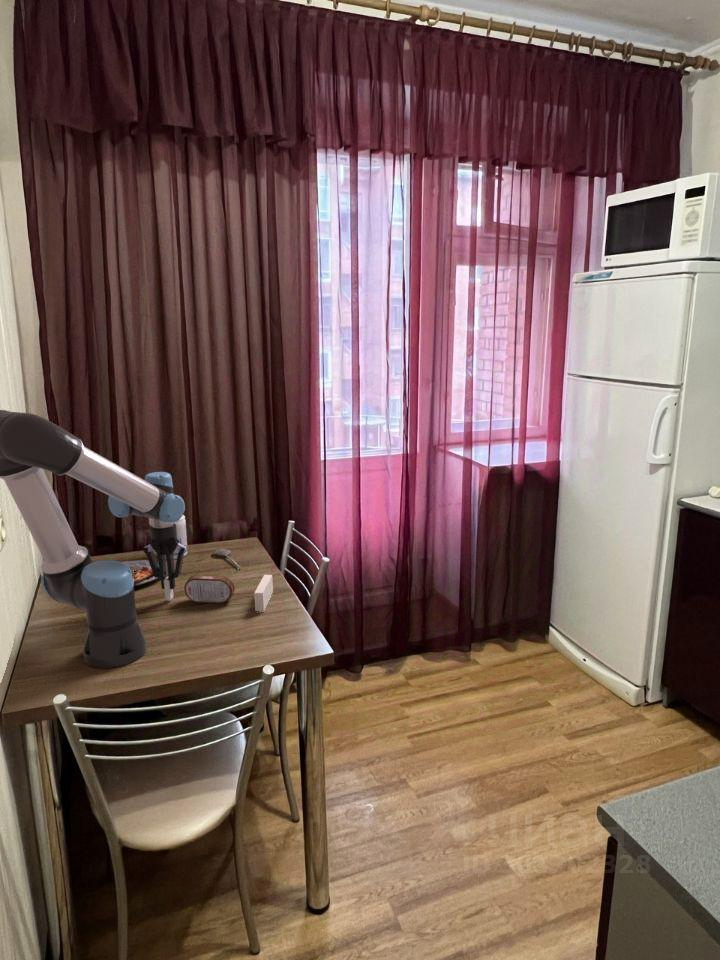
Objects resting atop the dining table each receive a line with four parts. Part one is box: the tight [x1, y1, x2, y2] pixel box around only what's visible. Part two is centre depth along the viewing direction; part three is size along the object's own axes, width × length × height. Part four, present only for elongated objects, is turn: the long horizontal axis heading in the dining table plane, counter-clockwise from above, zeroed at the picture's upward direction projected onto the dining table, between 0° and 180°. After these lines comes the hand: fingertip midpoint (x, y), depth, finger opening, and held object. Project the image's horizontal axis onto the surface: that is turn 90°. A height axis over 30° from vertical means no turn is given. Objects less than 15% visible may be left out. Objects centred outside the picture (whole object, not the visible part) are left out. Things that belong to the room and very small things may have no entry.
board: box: [253, 574, 274, 613], centre depth 190 cm, size 14×2×6 cm, turn 177°
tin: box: [183, 574, 235, 604], centre depth 191 cm, size 15×3×8 cm, turn 84°
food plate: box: [121, 559, 168, 587], centre depth 211 cm, size 25×23×4 cm
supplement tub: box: [165, 514, 188, 560], centre depth 231 cm, size 10×10×15 cm
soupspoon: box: [212, 548, 243, 571], centre depth 226 cm, size 22×3×7 cm
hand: (169, 598), depth 193 cm, fingers closed
